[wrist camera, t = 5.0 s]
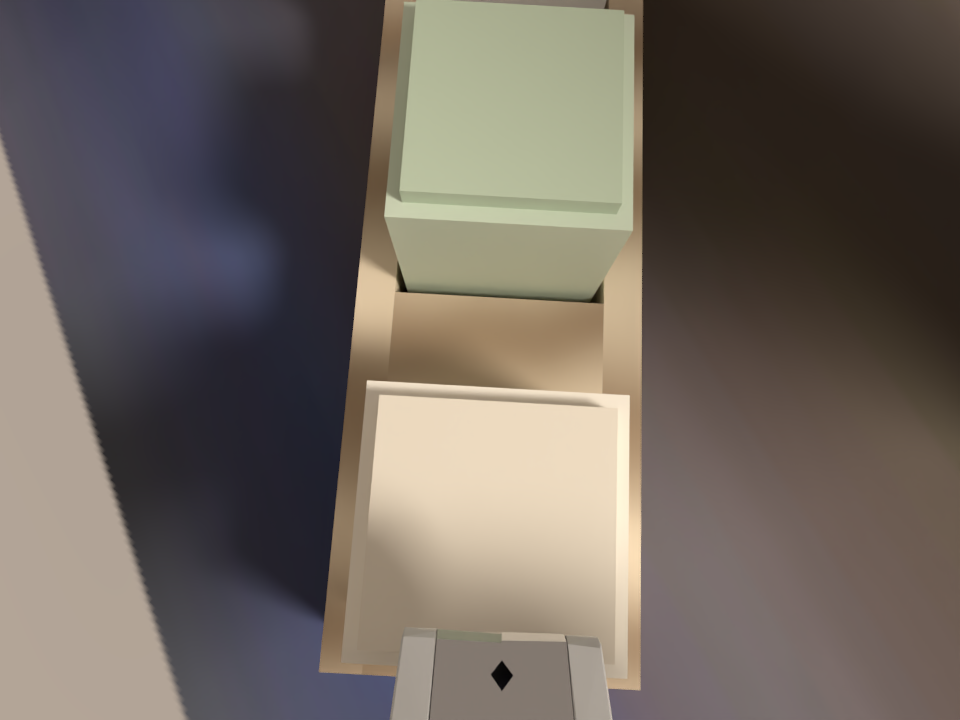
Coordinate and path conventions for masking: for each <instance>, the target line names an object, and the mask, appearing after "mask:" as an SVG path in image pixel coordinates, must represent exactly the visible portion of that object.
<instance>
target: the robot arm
mask: <svg viewBox="0 0 960 720" xmlns="http://www.w3.org/2000/svg"><path fill="white" fill-rule="evenodd" d="M390 720H612V714H611V707H610V700H609V693H608V687H607V680H606V673H605V666H604V659H603V652H602V645H601V643H600V641H599V639H598V637H597V636H580V635H564V634H549V633H517V632H501V633H499V632H481V631H464V630H446V629H437V628H416V627H405V628H404V632H403V635H402V638H401V645H400V652H399V659H398V666H397V673H396V680H395V687H394V694H393V701H392V708H391V715H390Z"/></svg>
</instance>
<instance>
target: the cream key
mask: <svg viewBox="0 0 960 720" xmlns="http://www.w3.org/2000/svg"><path fill="white" fill-rule="evenodd" d="M629 419H630V395H615V394H598V393H580V392H563V391H545V390H527V389H510V388H492V387H475V386H457V385H439V384H422V383H404V382H387V381H369V380H367V386H366V397H365V408H364V418H363V429H362V440H361V451H360V461H359V472H358V483H357V494H356V504H355V515H354V526H353V537H352V548H351V558H350V569H349V580H348V591H347V601H346V612H345V623H344V634H343V644H342V655H341V663H354V664H371V665H389V666H398V659H399V652H400V645H401V638H402V635H403V632H404V628H405V627H416V628H437V629H446V630H464V631H481V632H499V633H501V632H517V633H549V634H564V635H580V636H597V637H598V639H599V641H600V643H601V645H602V652H603V659H604V666H605V673H606V678H618V679H627V673H628V546H629Z"/></svg>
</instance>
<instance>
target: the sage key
mask: <svg viewBox="0 0 960 720" xmlns="http://www.w3.org/2000/svg"><path fill="white" fill-rule="evenodd" d="M633 150H634V15H629V14H624V10H610V9H592V8H575V7H557V6H540V5H522V4H505V3H487V2H470V1H452V0H416V2H404V7H403V18H402V29H401V40H400V51H399V62H398V72H397V83H396V94H395V105H394V116H393V127H392V137H391V148H390V159H389V170H388V181H387V192H386V203H385V213H384V218H385V221H386V224H387V227H388V230H389V234H390V237H391V240H392V243H393V246H394V249H395V253H396V256H397V259H398V262H399V265H400V269H401V272H402V275H403V278H404V281H405V284H406V288H407V291H408V293H422V294H440V295H458V296H475V297H493V298H510V299H528V300H546V301H563V302H581V303H589V302H590V301H591V299H592V298H593V296H594V294H595V293H596V291H597V289H598V288H599V286H600V284H601V283H602V281H603V279H604V278H605V276H606V274H607V273H608V271H609V269H610V268H611V266H612V265H613V263H614V261H615V260H616V258H617V256H618V255H619V253H620V251H621V250H622V248H623V246H624V245H625V243H626V241H627V240H628V238H629V236H630V235H631V233H632V231H633Z"/></svg>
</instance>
